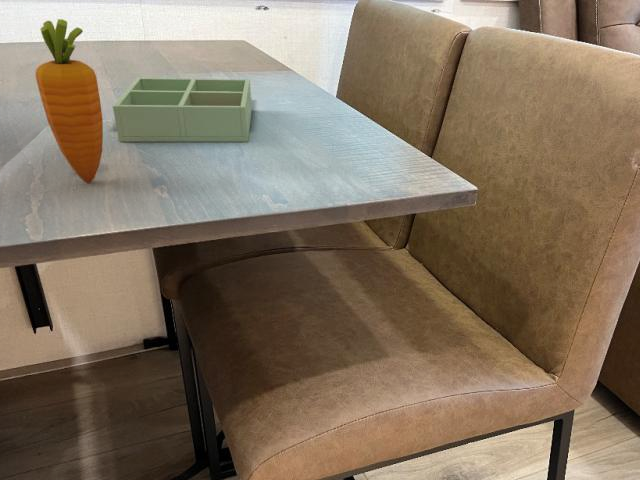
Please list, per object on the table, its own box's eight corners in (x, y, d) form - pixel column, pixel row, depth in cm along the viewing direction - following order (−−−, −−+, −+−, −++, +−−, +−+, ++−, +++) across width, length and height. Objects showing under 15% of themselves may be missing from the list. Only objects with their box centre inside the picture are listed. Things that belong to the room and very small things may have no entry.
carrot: (64, 175, 64) (26, 13, 56) (117, 172, 65) (87, 14, 57) (57, 193, 60) (16, 21, 52) (114, 190, 61) (82, 22, 53)
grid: (119, 141, 74) (112, 106, 72) (141, 108, 86) (136, 77, 84) (247, 141, 76) (245, 107, 74) (251, 109, 88) (249, 79, 86)
